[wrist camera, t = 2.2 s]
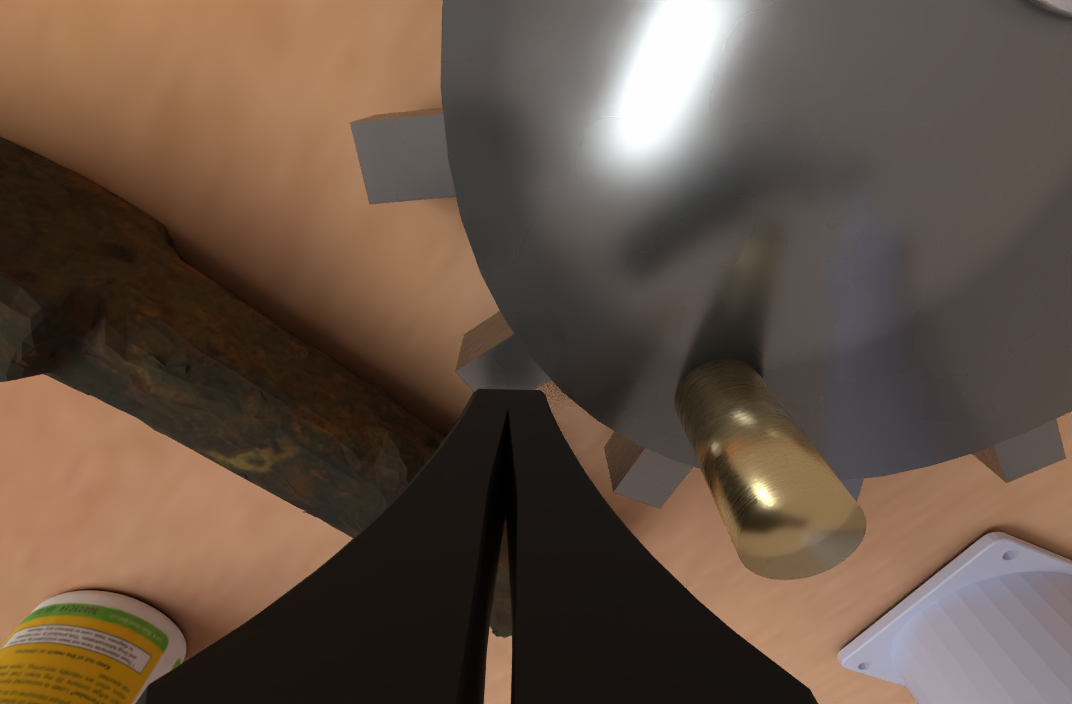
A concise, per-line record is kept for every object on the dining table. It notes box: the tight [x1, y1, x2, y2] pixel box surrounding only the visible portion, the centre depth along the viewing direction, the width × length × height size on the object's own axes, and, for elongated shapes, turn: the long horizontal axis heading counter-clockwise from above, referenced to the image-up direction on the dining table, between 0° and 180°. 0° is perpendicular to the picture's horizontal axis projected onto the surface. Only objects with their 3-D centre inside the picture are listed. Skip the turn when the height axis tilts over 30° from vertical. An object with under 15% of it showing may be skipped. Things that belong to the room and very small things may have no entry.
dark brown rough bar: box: [0, 138, 512, 638], centre depth 12 cm, size 19×4×5 cm, turn 44°
